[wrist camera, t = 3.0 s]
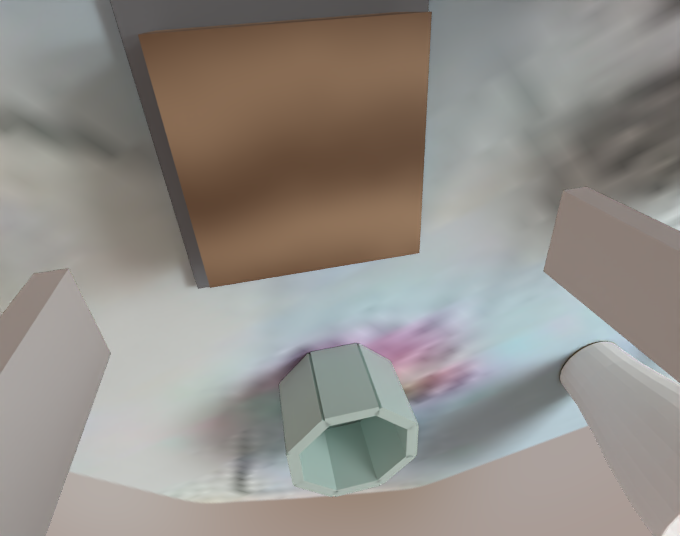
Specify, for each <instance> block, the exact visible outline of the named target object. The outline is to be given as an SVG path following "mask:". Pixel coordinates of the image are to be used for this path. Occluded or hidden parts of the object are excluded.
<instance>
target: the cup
mask: <svg viewBox="0 0 680 536" xmlns="http://www.w3.org/2000/svg"><path fill="white" fill-rule="evenodd" d="M560 381H561V383H562V385H563V386H564V387H565V389H566V390H567V392H568V393H569V394H570V396H571V397H572V399H573V400H574V401H575V403H576V404H577V406H578V408H579V409H580V411H581V413H582V415H583V417H584V418H585V420H586V422H587V424H588V425H589V427H590V429H591V431H592V433H593V435H594V437H595V439H596V441H597V443H598V445H599V447H600V449H601V451H602V453H603V455H604V458H605V460H606V461H607V464H608V465H609V467H610V469H611V471H612V472H613V474H614V476H615V477H616V479H617V481H618V483H619V484H620V486H621V488H622V490H623V491H624V493H625V495H626V496H627V498H628V500H629V502H630V503H631V505H632V507H633V508H634V509H635V511H636V512H637V514H638V515H639V517H640V518H641V519H642V521H643V522H644V524H645V525H646V526H647V528H648V529H649V531H650V532H651V534H652V535H653V536H680V384H678V383H676V382H674V381H672V380H670V379H669V378H667V377H665V376H663V375H662V374H660V373H658V372H657V371H655V370H653V369H651V368H650V367H648V366H646V365H644V364H643V363H641V362H639V361H638V360H636V359H635V358H634V357H632V356H631V355H629V354H628V353H627V352H625V351H624V350H623V349H621V348H620V347H618V346H617V345H616V344H614V343H612V342H598V343H594V344H591V345H589V346H586V347H584V348H582V349H581V350H579V351H578V352H576V353H575V354H574V355H573V356H572V357H571V358H570V359H569V360H568V361H567V362H566V364H565V365H564V367H563V369H562V371H561V375H560Z"/></svg>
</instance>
